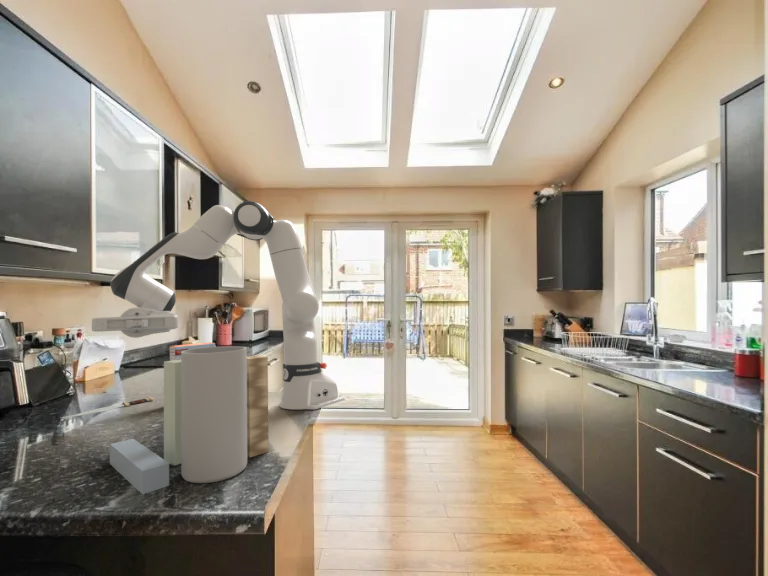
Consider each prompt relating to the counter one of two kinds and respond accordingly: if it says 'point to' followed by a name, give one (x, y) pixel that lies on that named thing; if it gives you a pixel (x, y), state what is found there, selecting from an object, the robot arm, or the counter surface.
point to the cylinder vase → (213, 413)
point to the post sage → (172, 412)
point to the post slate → (139, 465)
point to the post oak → (257, 405)
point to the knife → (113, 407)
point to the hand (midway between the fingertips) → (137, 323)
